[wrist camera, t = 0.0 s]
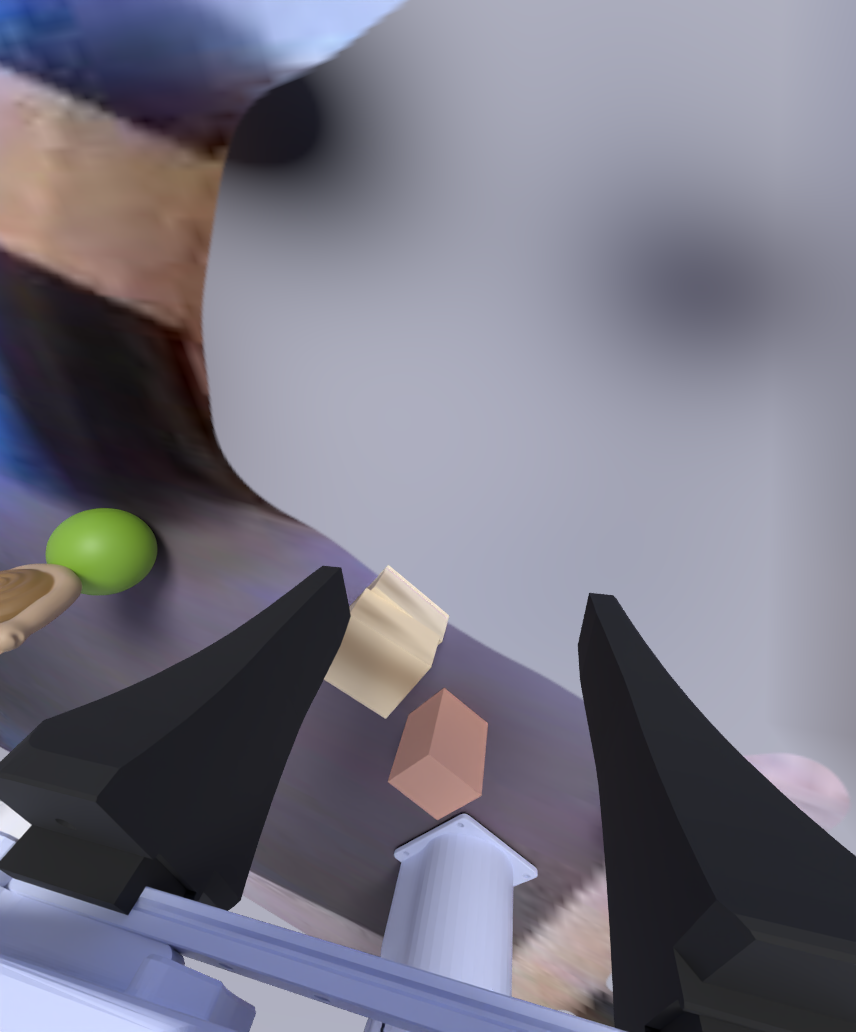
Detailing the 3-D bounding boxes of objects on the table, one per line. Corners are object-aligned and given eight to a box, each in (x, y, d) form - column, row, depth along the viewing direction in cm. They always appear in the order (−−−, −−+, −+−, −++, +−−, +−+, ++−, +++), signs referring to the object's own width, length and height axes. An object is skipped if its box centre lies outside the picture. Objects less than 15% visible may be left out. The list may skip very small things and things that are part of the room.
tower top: (398, 685, 25) (385, 718, 23) (330, 642, 25) (311, 671, 23) (440, 635, 23) (431, 666, 21) (366, 587, 23) (349, 614, 20)
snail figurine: (195, 576, 28) (-9, 717, 17) (118, 561, 29) (-120, 685, 18) (182, 504, 26) (-61, 613, 15) (99, 491, 27) (-183, 585, 16)
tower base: (401, 656, 27) (391, 684, 25) (344, 610, 27) (328, 634, 25) (449, 615, 25) (442, 641, 23) (388, 564, 25) (375, 586, 23)
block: (450, 747, 29) (437, 820, 25) (408, 714, 29) (387, 781, 24) (487, 723, 28) (481, 795, 23) (444, 687, 27) (428, 754, 23)
